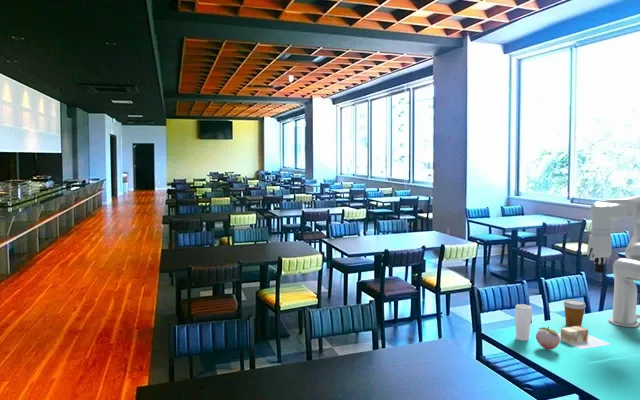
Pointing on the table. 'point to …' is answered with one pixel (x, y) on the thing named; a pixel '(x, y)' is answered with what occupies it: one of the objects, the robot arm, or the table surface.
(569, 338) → the maple block
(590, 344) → the white square plate
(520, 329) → the drinking glass
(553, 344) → the decorative fruit
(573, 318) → the disposable coffee cup
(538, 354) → the table surface
